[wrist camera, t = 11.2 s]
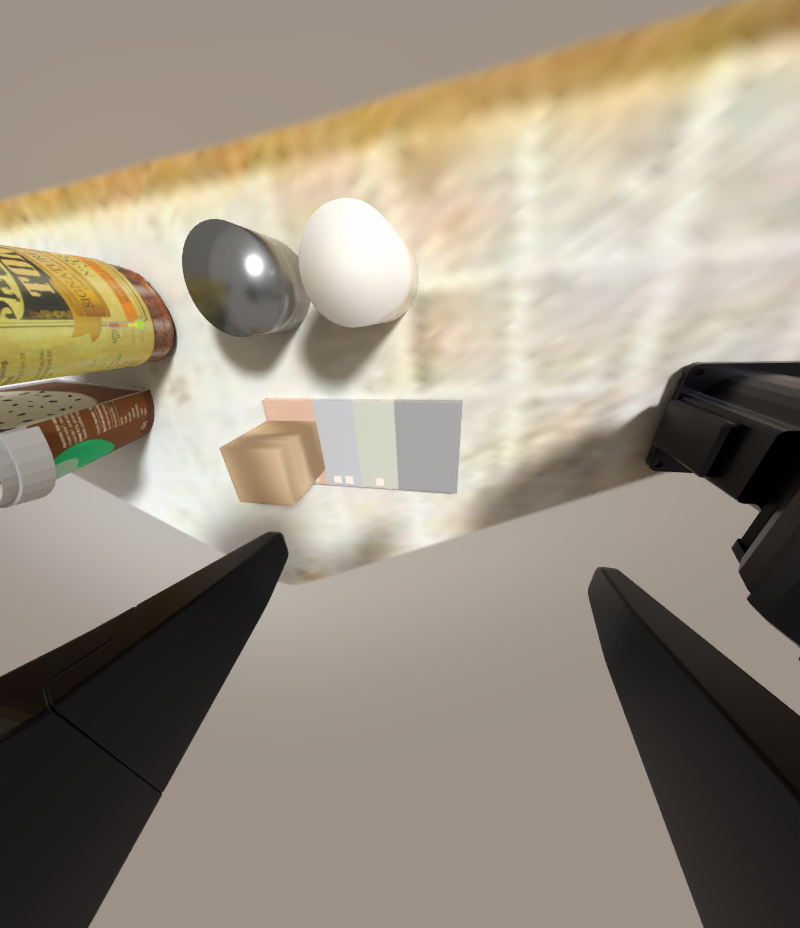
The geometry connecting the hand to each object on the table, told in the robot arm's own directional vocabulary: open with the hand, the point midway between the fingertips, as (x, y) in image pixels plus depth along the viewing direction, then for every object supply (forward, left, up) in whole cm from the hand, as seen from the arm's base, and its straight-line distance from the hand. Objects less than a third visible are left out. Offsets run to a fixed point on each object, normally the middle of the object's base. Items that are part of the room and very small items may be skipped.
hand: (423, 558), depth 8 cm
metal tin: (+11, -8, -13) cm, 19 cm away
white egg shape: (+4, -8, -13) cm, 16 cm away
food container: (+29, +1, -13) cm, 32 cm away
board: (+6, +2, -13) cm, 15 cm away
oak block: (+11, +2, -12) cm, 17 cm away
